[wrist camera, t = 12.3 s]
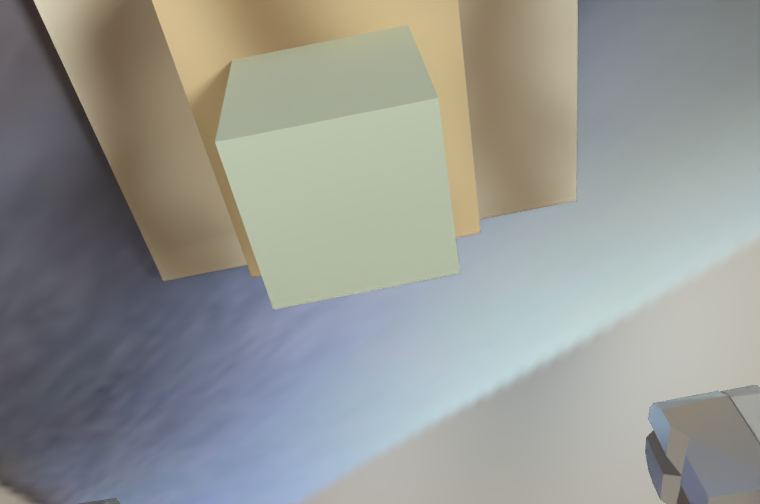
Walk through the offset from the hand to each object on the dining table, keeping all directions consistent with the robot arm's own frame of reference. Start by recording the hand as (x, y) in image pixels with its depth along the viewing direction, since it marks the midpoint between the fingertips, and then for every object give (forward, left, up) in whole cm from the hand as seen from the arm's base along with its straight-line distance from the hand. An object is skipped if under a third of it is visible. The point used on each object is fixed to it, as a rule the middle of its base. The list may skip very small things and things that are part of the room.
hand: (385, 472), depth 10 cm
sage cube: (0, 0, -13) cm, 13 cm away
